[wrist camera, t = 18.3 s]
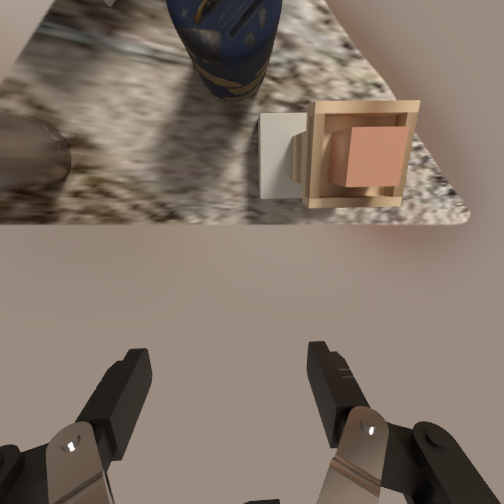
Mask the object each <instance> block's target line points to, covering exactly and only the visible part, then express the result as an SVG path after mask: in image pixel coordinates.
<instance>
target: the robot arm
mask: <svg viewBox="0 0 504 504" xmlns="http://www.w3.org/2000/svg"><path fill="white" fill-rule="evenodd" d="M70 164H71V157H70V152H69V148H68V146H67V144H66V142H65V140H64V139H63V137H62V136H61V134H60V133H59V132H58V131H57V130H56V129H55V128H53V127H52V126H50V125H49V124H47V123H45V122H43V121H41V120H38V119H34V118H29V117H24V116H19V115H14V114H9V113H4V112H0V191H1V190H9V189H16V188H24V187H33V186H40V185H48V184H54V183H57V182H59V181H61V180H62V179H63V178H64V177H65V176H66V175H67V173H68V171H69V169H70ZM307 375H308V379H309V382H310V385H311V389H312V391H313V395H314V398H315V401H316V404H317V407H318V410H319V414H320V417H321V420H322V423H323V426H324V429H325V432H326V436H327V439H328V442H329V445H330V448H337V452H336V454H335V457H334V458H332V460H331V463H330V466H329V469H328V471H327V474H326V477H325V480H324V483H323V486H322V489H321V492H320V495H319V498H318V500H317V504H378V501H379V495H380V486H381V487H384V488H388V489H391V490H394V491H397V492H400V493H403V494H404V497H405V499H406V501H407V504H501V503H500V502H499V501H498V499H497V498H496V496H495V495H494V494H493V492H492V491H491V489H490V488H489V487H488V485H487V484H486V483H485V481H484V480H483V478H482V477H481V475H480V474H479V473H478V471H477V470H476V468H475V467H474V466H473V464H472V463H471V461H470V460H469V459H468V457H467V456H466V454H465V453H464V452H463V450H462V449H461V447H460V446H459V444H458V443H457V442H456V440H455V439H454V438H453V437H452V436H451V435H450V434H449V433H448V432H447V431H446V430H444V429H443V428H441V427H440V426H438V425H436V424H433V423H431V422H425V421H423V422H418V423H416V424H415V425H414V428H413V429H409V428H405V427H401V426H397V425H394V424H391V423H388V422H386V421H385V419H384V418H383V417H382V416H381V415H380V414H379V413H378V412H376V411H375V410H373V409H371V407H370V406H369V404H368V402H367V400H366V398H365V397H364V395H363V393H362V391H361V389H360V387H359V385H358V383H357V381H356V380H355V378H354V377H353V374H352V372H351V370H350V369H349V366H348V364H347V363H346V361H345V359H344V358H343V357H342V356H341V355H340V354H339V353H337V352H330V351H329V349H328V347H327V345H326V343H325V341H315V342H314V341H313V342H309V345H308V357H307ZM151 382H152V370H151V364H150V359H149V354H148V350H147V349H146V348H140V349H130V350H129V351H128V352H127V354H126V356H125V358H124V360H123V361H117V362H116V363H114V365H112V366H111V367H110V368H109V369H108V370H107V371H106V373H105V375H104V376H103V378H102V381H100V383H99V384H98V386H97V388H96V390H95V391H94V392H93V394H92V396H91V397H90V399H89V400H88V402H87V404H86V405H85V407H84V408H83V410H82V412H81V413H80V415H79V416H78V418H77V420H76V421H75V423H73V424H70V425H68V426H67V427H65V428H63V429H62V430H61V431H59V432H58V433H57V434H56V435H55V436H54V437H53V438H52V440H51V441H50V442H49V443H47V444H44V445H42V446H39V447H36V448H33V449H30V450H27V451H24V452H20V450H19V448H18V447H17V446H15V445H12V444H11V445H4V446H1V447H0V504H115V501H114V497H113V493H112V489H111V485H110V482H109V477H108V474H107V470H108V468H109V466H110V463H111V461H117V460H118V461H119V460H122V458H123V456H124V453H125V451H126V448H127V445H128V443H129V440H130V438H131V435H132V433H133V430H134V427H135V425H136V422H137V419H138V417H139V414H140V412H141V409H142V407H143V404H144V402H145V399H146V396H147V394H148V391H149V388H150V386H151ZM244 504H280V501H279V499H273V500H259V501H249V502H247V503H244Z"/></svg>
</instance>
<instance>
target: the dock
mask: <svg viewBox="0 0 504 504" xmlns="http://www.w3.org/2000/svg"><path fill="white" fill-rule="evenodd" d="M306 121H307V113H260V116H259V118H258V177H259V196H260V198H261V199H285V198H302V196H303V184H301V183H298V182H296V181H293V180H291V155H292V137H293V136H295V135H297V134H300V133H302V132H304V131H306Z"/></svg>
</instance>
